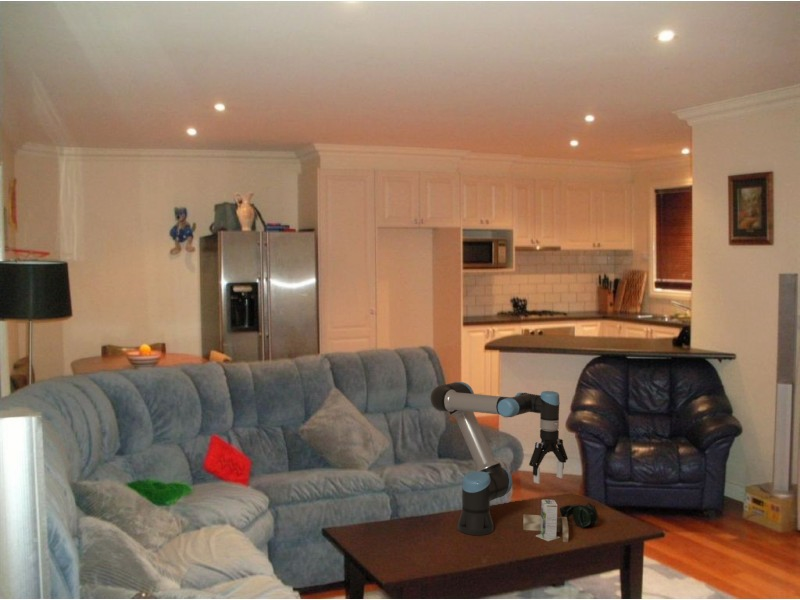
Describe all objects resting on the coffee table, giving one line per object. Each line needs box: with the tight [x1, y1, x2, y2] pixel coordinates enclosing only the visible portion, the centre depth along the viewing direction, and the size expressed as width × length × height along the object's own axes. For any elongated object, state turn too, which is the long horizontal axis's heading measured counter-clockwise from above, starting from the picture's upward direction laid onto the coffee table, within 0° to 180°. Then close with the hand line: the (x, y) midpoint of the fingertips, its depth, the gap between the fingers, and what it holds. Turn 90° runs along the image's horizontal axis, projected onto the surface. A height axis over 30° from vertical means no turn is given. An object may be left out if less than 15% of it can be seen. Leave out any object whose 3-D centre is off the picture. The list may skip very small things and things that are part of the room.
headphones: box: [559, 502, 599, 529], centre depth 326 cm, size 13×13×20 cm
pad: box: [535, 533, 561, 542], centre depth 308 cm, size 7×7×1 cm
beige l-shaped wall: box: [522, 514, 569, 543], centre depth 310 cm, size 18×13×6 cm
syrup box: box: [540, 499, 558, 538], centre depth 308 cm, size 6×6×14 cm
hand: (548, 480), depth 307 cm, fingers open, 13 cm apart
